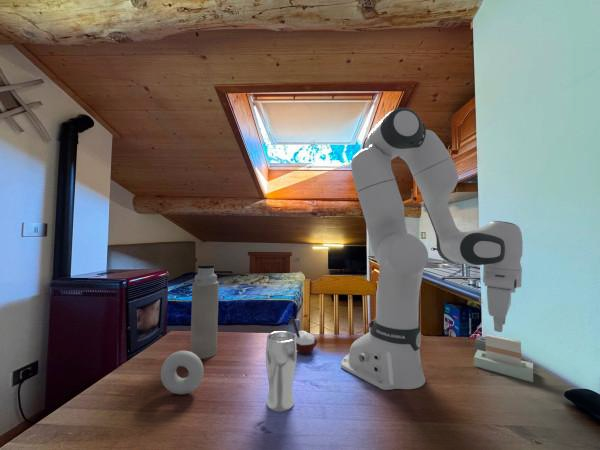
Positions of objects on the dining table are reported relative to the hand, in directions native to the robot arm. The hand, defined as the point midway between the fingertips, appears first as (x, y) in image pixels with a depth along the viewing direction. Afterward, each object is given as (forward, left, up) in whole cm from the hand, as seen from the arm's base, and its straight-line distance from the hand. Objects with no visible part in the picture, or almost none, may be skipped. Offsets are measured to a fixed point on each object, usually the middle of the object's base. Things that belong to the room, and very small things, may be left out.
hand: (499, 327), depth 77 cm
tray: (+1, +1, -13) cm, 13 cm away
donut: (-56, -64, -13) cm, 87 cm away
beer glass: (-36, -51, -13) cm, 64 cm away
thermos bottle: (-72, -49, -13) cm, 89 cm away
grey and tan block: (-1, +10, -13) cm, 16 cm away
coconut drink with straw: (-49, -27, -13) cm, 58 cm away
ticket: (+1, +1, -12) cm, 12 cm away
